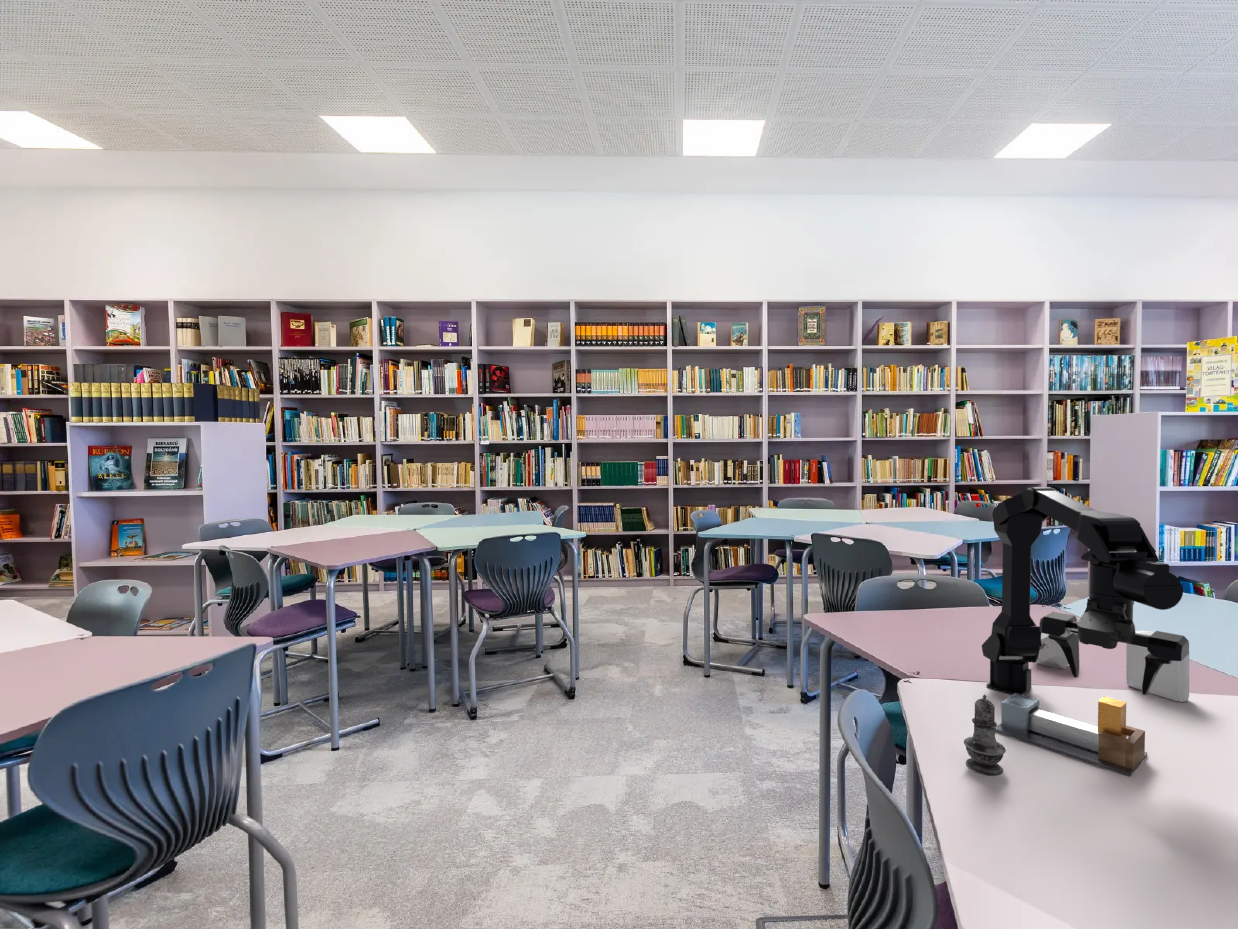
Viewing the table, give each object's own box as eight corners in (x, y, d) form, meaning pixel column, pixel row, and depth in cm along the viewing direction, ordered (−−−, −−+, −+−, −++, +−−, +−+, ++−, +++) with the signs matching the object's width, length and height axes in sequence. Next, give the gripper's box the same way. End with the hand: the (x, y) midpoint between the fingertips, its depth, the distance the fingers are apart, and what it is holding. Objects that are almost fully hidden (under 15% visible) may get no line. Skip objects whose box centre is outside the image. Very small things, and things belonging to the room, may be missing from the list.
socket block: (1098, 758, 101) (1098, 733, 101) (1110, 745, 105) (1111, 721, 105) (1133, 769, 98) (1133, 743, 97) (1144, 756, 102) (1145, 730, 101)
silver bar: (1007, 722, 113) (1007, 677, 113) (1014, 718, 115) (1014, 673, 115) (1123, 760, 100) (1124, 708, 100) (1129, 754, 102) (1130, 703, 101)
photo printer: (1121, 685, 131) (1122, 627, 131) (1135, 682, 133) (1136, 625, 132) (1179, 704, 121) (1181, 642, 121) (1193, 701, 123) (1194, 639, 122)
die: (1024, 659, 149) (1020, 634, 144) (1052, 640, 149) (1049, 614, 145) (1055, 683, 142) (1052, 657, 137) (1085, 663, 142) (1083, 636, 138)
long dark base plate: (993, 731, 112) (994, 704, 112) (1015, 715, 118) (1016, 689, 118) (1129, 777, 97) (1130, 745, 96) (1147, 756, 103) (1147, 726, 102)
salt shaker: (1000, 760, 102) (1001, 689, 102) (1010, 779, 97) (1010, 704, 96) (960, 755, 104) (960, 685, 104) (967, 773, 98) (967, 699, 98)
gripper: (1027, 590, 104) (1026, 681, 105) (1173, 614, 90) (1171, 719, 90) (1051, 579, 111) (1050, 665, 112) (1191, 600, 96) (1188, 698, 97)
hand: (1109, 685), depth 103 cm, fingers open, 9 cm apart
